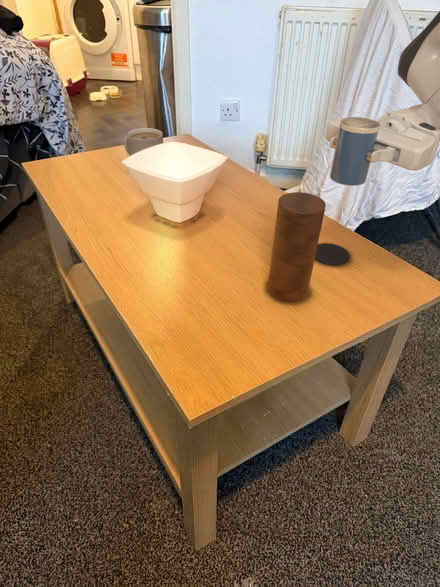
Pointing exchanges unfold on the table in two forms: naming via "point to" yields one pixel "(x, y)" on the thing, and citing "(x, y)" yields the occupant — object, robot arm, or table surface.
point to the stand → (295, 245)
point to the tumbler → (353, 150)
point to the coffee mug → (142, 139)
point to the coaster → (331, 254)
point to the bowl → (175, 177)
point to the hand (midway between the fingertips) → (351, 150)
